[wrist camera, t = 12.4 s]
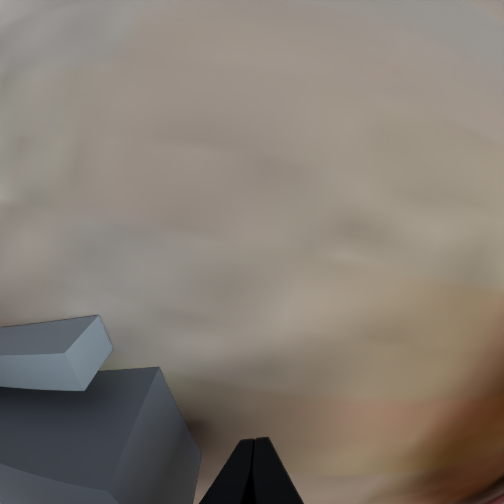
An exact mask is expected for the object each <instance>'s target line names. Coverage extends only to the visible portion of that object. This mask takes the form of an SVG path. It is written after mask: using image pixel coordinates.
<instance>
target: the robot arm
mask: <svg viewBox="0 0 504 504" xmlns="http://www.w3.org/2000/svg"><path fill="white" fill-rule="evenodd" d="M199 504H304V503H303V501H302V499H301V497H300V495H299V494H298V492H297V490H296V488H295V486H294V484H293V483H292V481H291V479H290V477H289V475H288V473H287V471H286V469H285V468H284V466H283V464H282V462H281V460H280V458H279V456H278V454H277V452H276V450H275V448H274V446H273V444H272V442H271V440H270V438H269V437H260V438H256V439H255V440H254V439H243V440H240V441H239V443H238V444H237V446H236V448H235V449H234V451H233V452H232V454H231V456H230V457H229V459H228V460H227V462H226V464H225V465H224V467H223V468H222V470H221V471H220V473H219V474H218V476H217V478H216V479H215V481H214V482H213V484H212V485H211V487H210V488H209V490H208V491H207V493H206V494H205V496H204V497H203V499H202V500H201V502H200V503H199Z"/></svg>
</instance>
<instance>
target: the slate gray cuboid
mask: <svg viewBox="0 0 504 504" xmlns="http://www.w3.org/2000/svg"><path fill="white" fill-rule="evenodd" d="M201 455H202V454H201V453H200V451H199V449H198V447H197V445H196V443H195V441H194V439H193V437H192V435H191V433H190V432H189V430H188V428H187V426H186V424H185V422H184V420H183V417H182V415H181V413H180V411H179V409H178V407H177V405H176V403H175V401H174V399H173V396H172V394H171V392H170V390H169V388H168V385H167V383H166V381H165V379H164V376H163V374H162V372H161V370H160V367H150V368H137V369H123V370H106V371H97V373H96V374H95V376H94V377H93V379H92V380H91V382H90V383H89V385H88V386H87V388H86V389H85V391H64V390H40V389H24V388H12V387H2V386H0V504H193V501H194V496H195V490H196V484H197V478H198V472H199V466H200V461H201Z"/></svg>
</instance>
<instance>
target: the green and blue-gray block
mask: <svg viewBox="0 0 504 504" xmlns="http://www.w3.org/2000/svg"><path fill="white" fill-rule="evenodd" d="M112 350H113V347H112V345H111V342H110V340H109V338H108V335H107V333H106V331H105V328H104V326H103V323H102V321H101V318H100V316H99V315H96V316H89V317H82V318H74V319H67V320H59V321H52V322H44V323H36V324H28V325H19V326H11V327H2V328H0V386H2V387H12V388H24V389H40V390H64V391H85V389H86V388H87V386H88V385H89V383H90V382H91V380H92V379H93V377H94V376H95V374H96V373H97V371H98V370H99V369H100V367H101V366H102V364H103V363H104V361H105V360H106V358H107V357H108V355H109V354H110V353H111V351H112Z"/></svg>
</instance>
